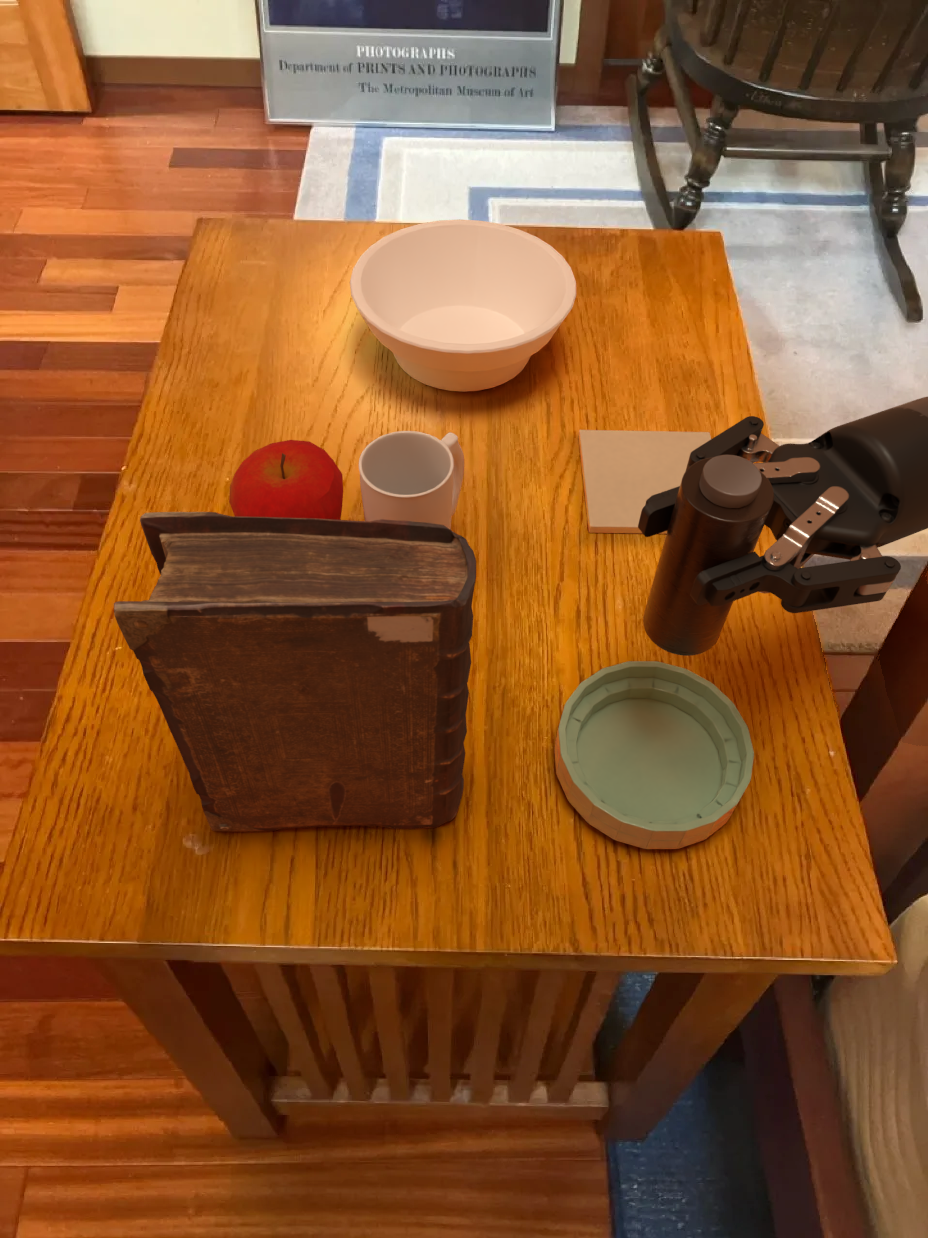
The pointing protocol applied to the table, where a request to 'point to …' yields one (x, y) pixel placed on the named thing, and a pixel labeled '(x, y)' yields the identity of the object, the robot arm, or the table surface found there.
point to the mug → (411, 477)
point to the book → (310, 666)
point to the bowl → (462, 300)
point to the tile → (630, 472)
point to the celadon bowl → (652, 754)
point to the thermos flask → (704, 548)
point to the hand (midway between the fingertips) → (670, 555)
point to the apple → (288, 483)
